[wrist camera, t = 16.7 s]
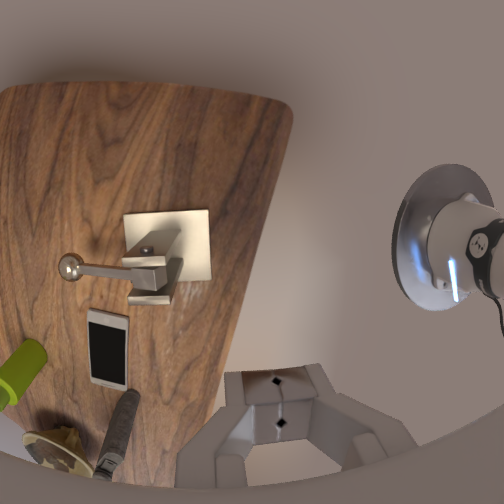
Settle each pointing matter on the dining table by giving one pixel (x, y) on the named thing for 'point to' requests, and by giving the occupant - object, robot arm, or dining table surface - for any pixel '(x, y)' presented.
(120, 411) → the flask
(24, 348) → the soap dispenser
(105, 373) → the smartphone
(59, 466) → the bowl
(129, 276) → the lever
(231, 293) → the dining table surface
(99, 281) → the dining table surface
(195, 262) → the metal pivot stand
